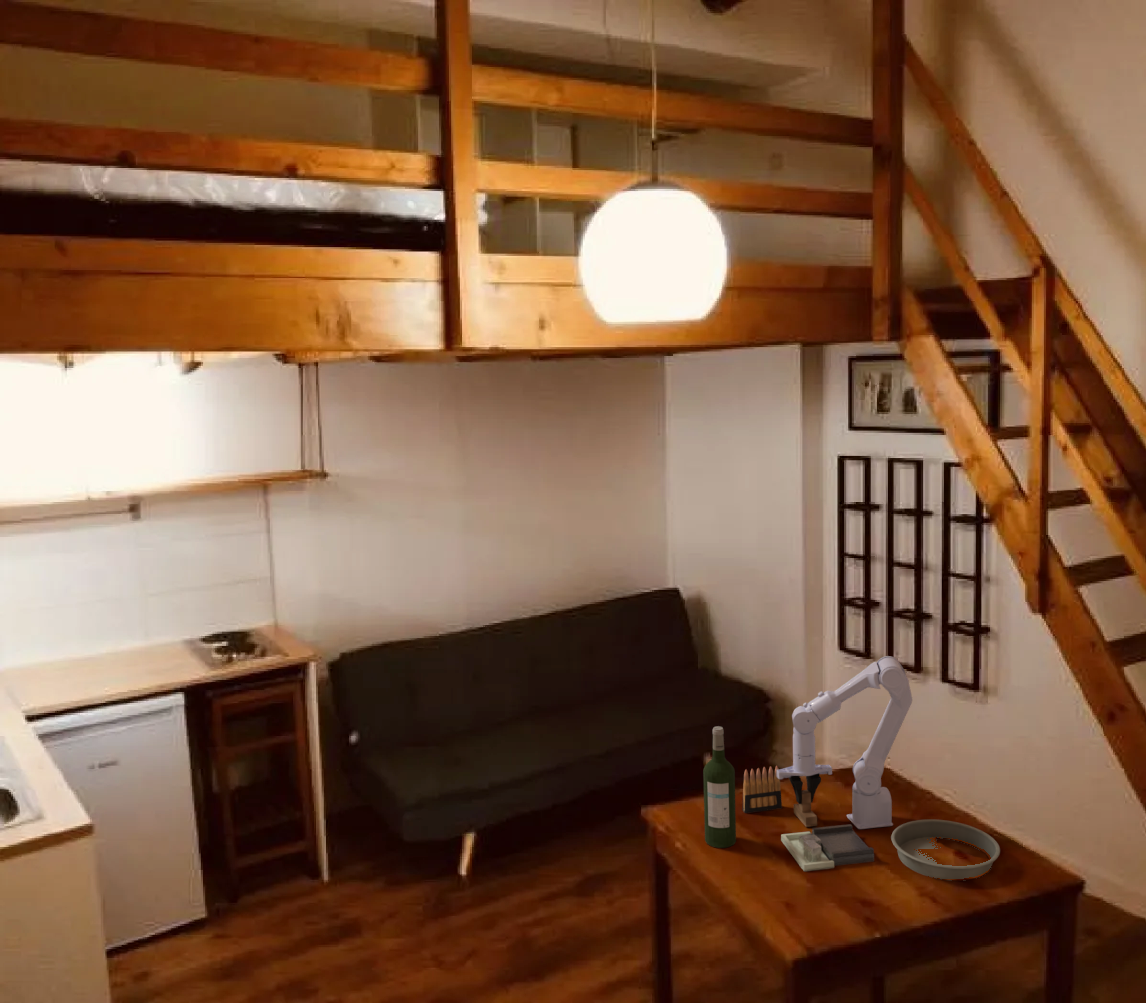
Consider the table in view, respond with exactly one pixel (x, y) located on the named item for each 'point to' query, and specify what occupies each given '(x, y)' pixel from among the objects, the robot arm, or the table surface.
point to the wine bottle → (719, 796)
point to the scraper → (805, 810)
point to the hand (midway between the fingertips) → (804, 801)
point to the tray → (798, 853)
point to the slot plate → (843, 845)
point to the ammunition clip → (761, 792)
